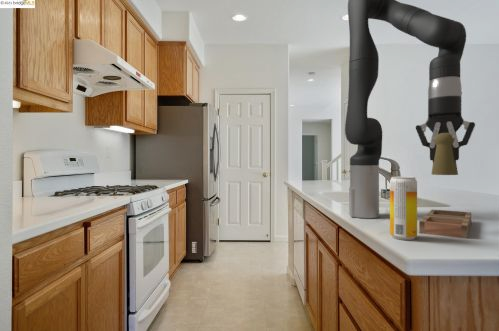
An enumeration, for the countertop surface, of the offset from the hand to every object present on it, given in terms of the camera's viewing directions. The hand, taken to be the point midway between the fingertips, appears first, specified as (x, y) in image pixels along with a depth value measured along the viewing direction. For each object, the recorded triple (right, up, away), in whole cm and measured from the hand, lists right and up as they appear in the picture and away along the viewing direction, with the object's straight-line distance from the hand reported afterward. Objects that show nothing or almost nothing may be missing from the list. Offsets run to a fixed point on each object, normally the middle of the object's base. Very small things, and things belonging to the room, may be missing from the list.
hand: (444, 162), depth 86 cm
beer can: (-13, -19, -5) cm, 24 cm away
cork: (0, -3, 0) cm, 3 cm away
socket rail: (+4, -18, +6) cm, 20 cm away
